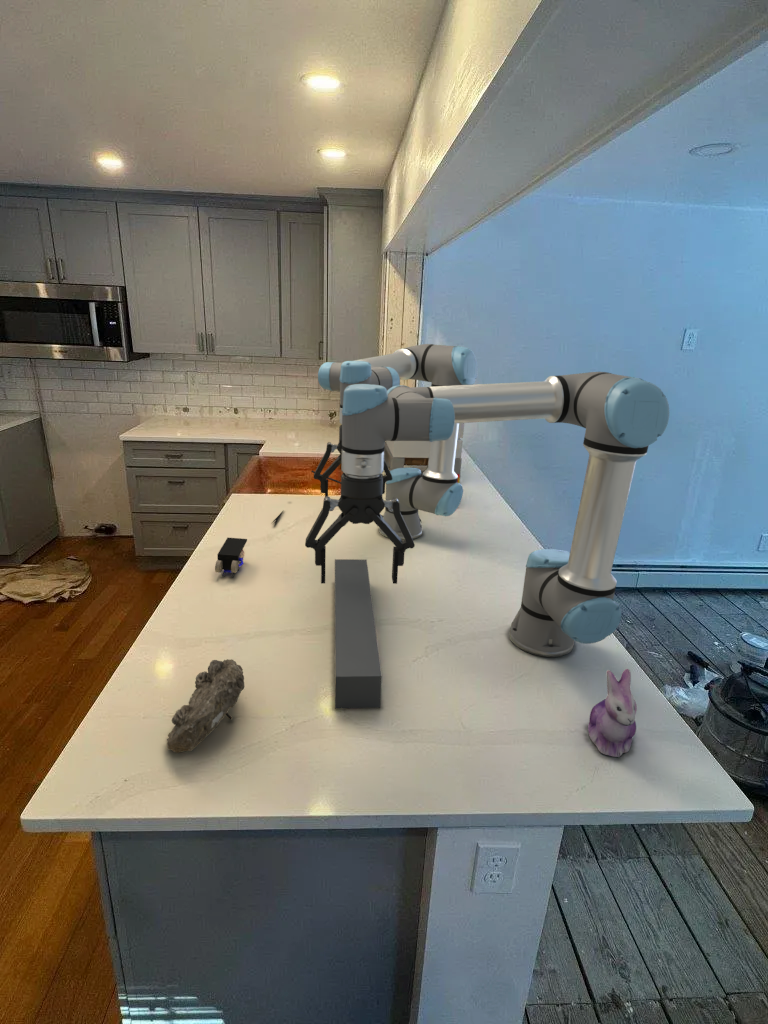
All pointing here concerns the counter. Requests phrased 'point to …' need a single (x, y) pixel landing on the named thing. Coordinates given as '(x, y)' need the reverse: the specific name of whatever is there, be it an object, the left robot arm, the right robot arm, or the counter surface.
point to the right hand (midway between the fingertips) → (359, 580)
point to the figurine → (614, 717)
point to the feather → (277, 518)
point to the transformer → (417, 453)
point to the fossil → (206, 705)
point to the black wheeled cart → (230, 556)
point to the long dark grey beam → (355, 638)
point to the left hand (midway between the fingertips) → (352, 505)
